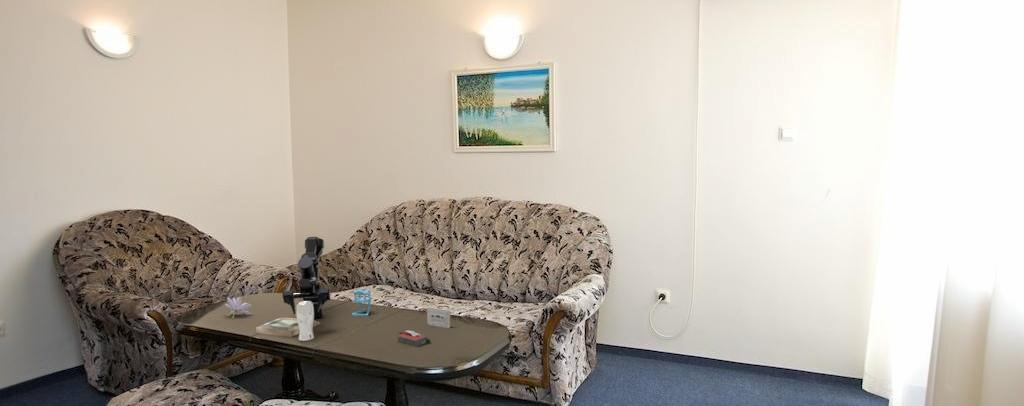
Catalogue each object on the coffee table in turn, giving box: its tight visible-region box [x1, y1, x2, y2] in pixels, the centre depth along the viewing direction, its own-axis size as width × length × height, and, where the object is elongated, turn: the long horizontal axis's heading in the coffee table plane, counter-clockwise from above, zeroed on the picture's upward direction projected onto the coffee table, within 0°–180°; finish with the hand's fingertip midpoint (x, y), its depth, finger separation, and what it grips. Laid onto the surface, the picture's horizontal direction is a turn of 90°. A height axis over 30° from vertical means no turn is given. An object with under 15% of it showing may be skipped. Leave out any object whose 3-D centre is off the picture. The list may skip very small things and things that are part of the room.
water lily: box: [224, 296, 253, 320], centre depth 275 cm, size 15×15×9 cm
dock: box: [255, 317, 320, 338], centre depth 256 cm, size 18×18×4 cm
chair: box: [351, 289, 373, 317], centre depth 278 cm, size 8×8×12 cm
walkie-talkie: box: [397, 329, 431, 348], centre depth 238 cm, size 9×4×20 cm
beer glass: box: [295, 300, 315, 342], centre depth 241 cm, size 7×7×15 cm
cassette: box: [426, 306, 451, 329], centre depth 257 cm, size 12×2×8 cm, turn 59°
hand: (305, 313), depth 244 cm, fingers open, 9 cm apart
